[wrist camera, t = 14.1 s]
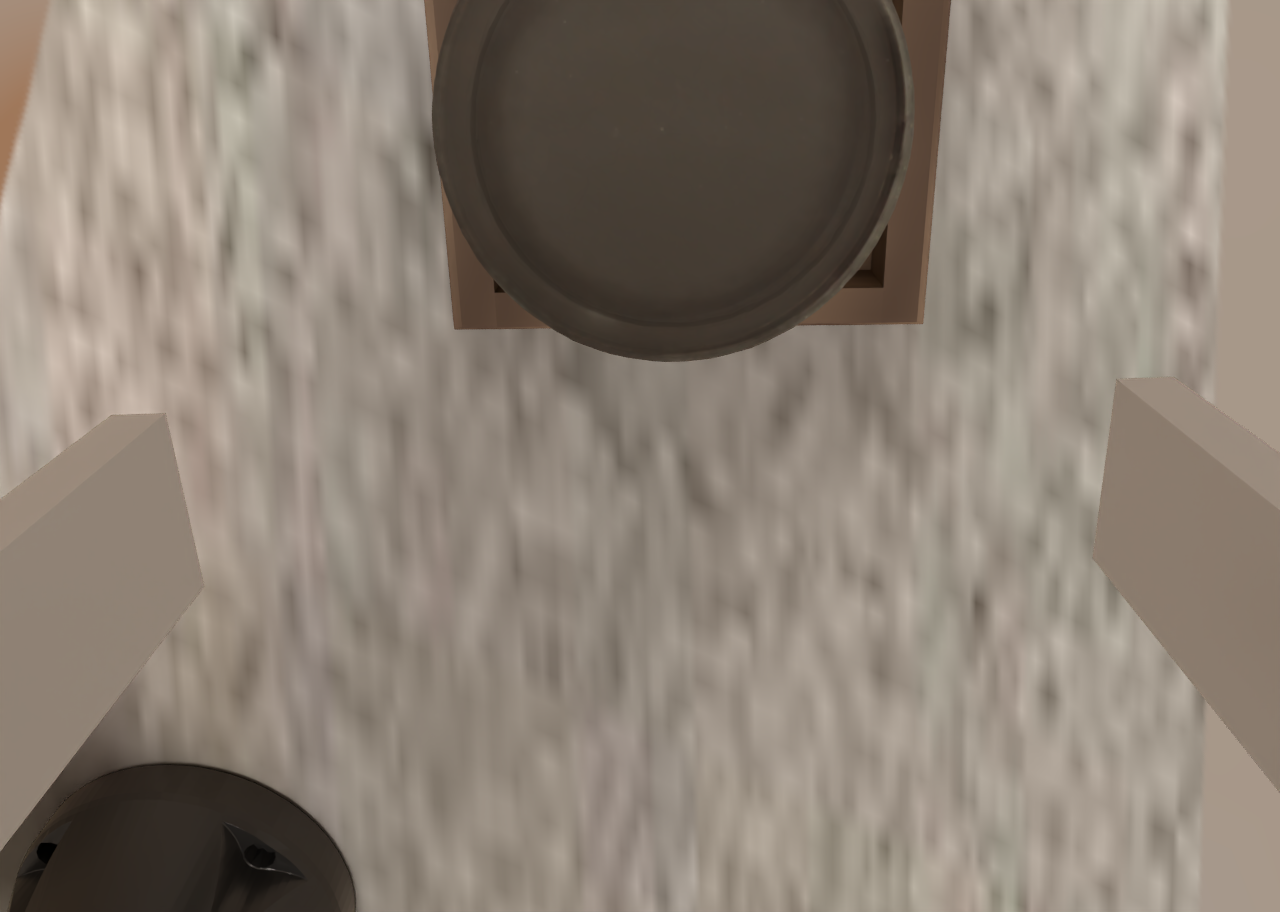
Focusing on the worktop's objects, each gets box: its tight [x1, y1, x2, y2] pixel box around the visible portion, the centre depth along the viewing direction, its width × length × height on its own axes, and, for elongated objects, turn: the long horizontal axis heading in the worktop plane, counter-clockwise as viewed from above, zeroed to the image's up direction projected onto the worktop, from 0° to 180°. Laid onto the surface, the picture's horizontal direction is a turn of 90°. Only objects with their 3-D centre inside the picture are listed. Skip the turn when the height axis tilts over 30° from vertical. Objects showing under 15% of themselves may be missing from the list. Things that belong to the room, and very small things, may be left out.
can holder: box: [424, 0, 951, 329], centre depth 35 cm, size 17×17×4 cm
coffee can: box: [432, 0, 915, 362], centre depth 29 cm, size 10×10×14 cm
